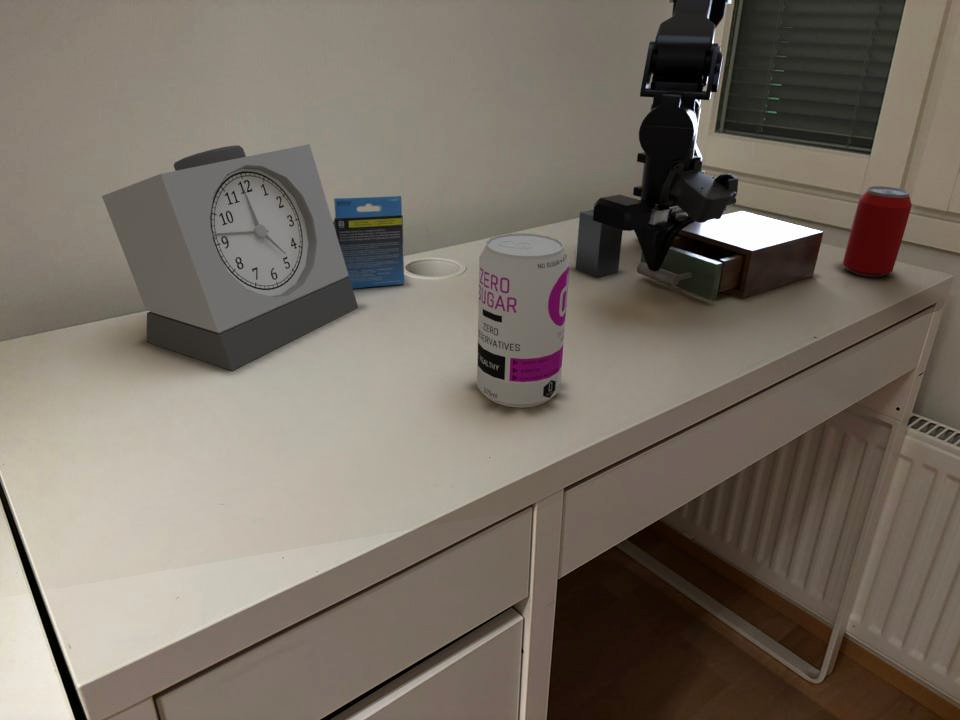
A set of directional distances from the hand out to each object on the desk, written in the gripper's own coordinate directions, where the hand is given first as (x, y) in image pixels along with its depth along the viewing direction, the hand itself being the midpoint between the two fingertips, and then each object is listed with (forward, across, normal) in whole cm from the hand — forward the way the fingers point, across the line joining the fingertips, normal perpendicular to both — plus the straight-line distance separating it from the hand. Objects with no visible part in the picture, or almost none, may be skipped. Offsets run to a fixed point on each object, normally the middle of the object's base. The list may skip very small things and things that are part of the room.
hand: (653, 270), depth 92 cm
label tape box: (+4, -28, +25) cm, 38 cm away
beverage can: (+4, +36, -10) cm, 37 cm away
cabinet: (+4, +19, 0) cm, 19 cm away
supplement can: (+4, -30, -10) cm, 32 cm away
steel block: (+4, +2, +12) cm, 13 cm away
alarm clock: (+4, -46, +21) cm, 51 cm away
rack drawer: (+3, +10, 0) cm, 10 cm away
